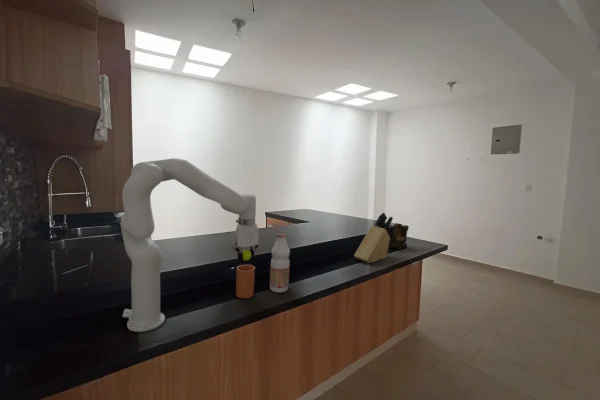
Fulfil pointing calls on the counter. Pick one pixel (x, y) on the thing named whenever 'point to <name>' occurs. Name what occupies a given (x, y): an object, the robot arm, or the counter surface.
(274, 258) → the fruit juice
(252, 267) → the tube
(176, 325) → the counter surface
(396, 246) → the pottery vessel
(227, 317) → the counter surface
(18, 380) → the counter surface
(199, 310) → the counter surface
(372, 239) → the knife block
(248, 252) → the ball
